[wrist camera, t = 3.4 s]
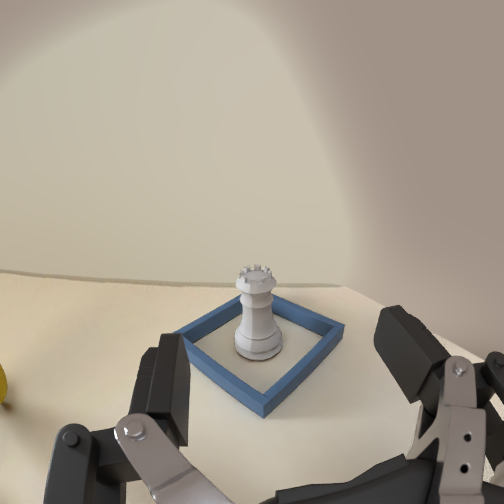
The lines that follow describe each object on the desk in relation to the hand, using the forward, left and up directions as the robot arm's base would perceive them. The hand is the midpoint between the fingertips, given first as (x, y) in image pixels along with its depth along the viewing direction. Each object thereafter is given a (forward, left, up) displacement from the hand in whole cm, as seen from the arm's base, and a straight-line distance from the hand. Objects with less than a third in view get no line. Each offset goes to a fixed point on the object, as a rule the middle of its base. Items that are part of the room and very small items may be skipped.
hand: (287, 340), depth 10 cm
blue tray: (-7, -9, -11) cm, 16 cm away
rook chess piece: (-7, -9, -11) cm, 16 cm away
